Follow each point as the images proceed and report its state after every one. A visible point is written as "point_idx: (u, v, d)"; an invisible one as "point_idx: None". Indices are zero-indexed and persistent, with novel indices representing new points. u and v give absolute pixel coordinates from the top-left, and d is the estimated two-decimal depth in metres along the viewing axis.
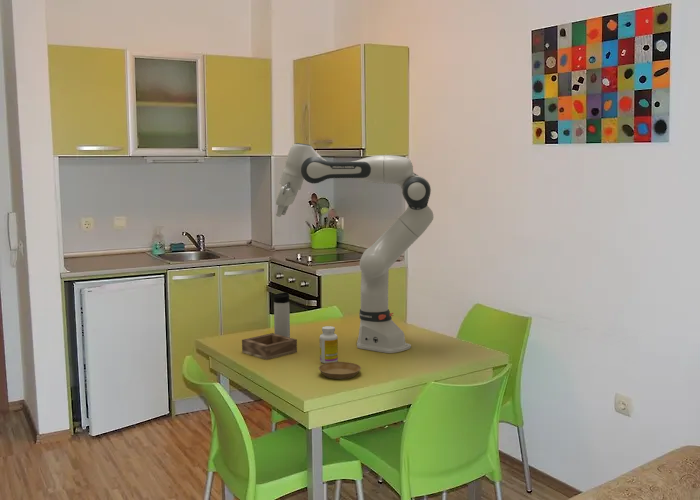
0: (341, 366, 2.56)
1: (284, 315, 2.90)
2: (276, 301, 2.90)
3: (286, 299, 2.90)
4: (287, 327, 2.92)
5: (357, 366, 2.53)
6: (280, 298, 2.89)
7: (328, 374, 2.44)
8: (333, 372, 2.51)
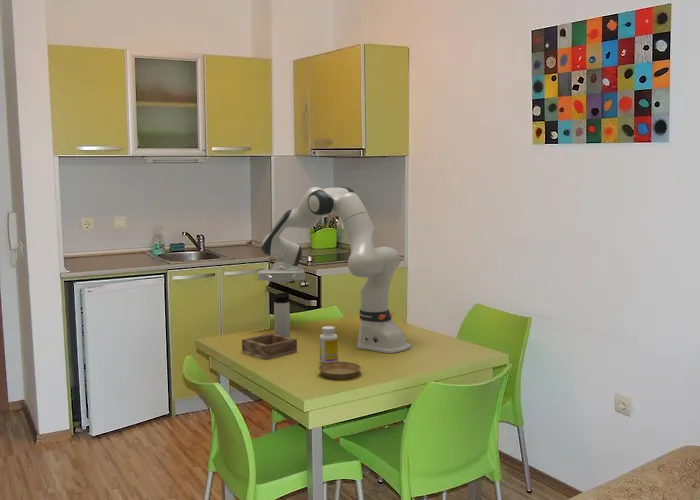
0: (341, 366, 2.56)
1: (284, 315, 2.90)
2: (276, 301, 2.90)
3: (286, 299, 2.90)
4: (287, 327, 2.92)
5: (357, 366, 2.53)
6: (280, 298, 2.89)
7: (328, 374, 2.44)
8: (333, 372, 2.51)
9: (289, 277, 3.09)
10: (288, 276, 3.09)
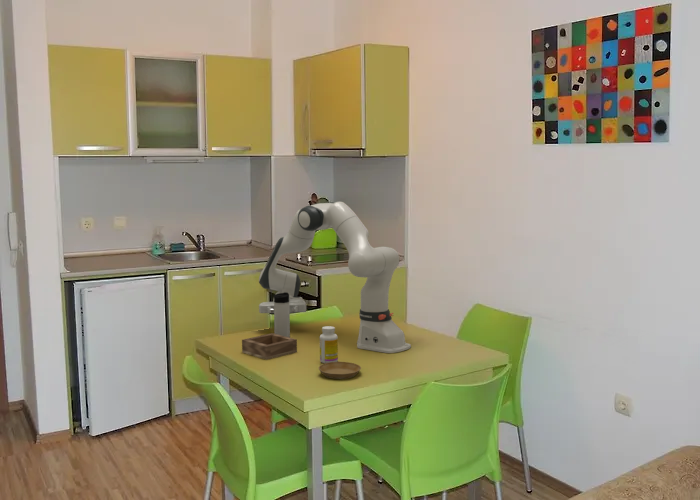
0: (341, 366, 2.56)
1: (284, 315, 2.90)
2: (276, 301, 2.90)
3: (286, 299, 2.90)
4: (287, 327, 2.92)
5: (357, 366, 2.53)
6: (280, 298, 2.89)
7: (328, 374, 2.44)
8: (333, 372, 2.51)
9: (290, 309, 3.08)
10: (289, 308, 3.08)
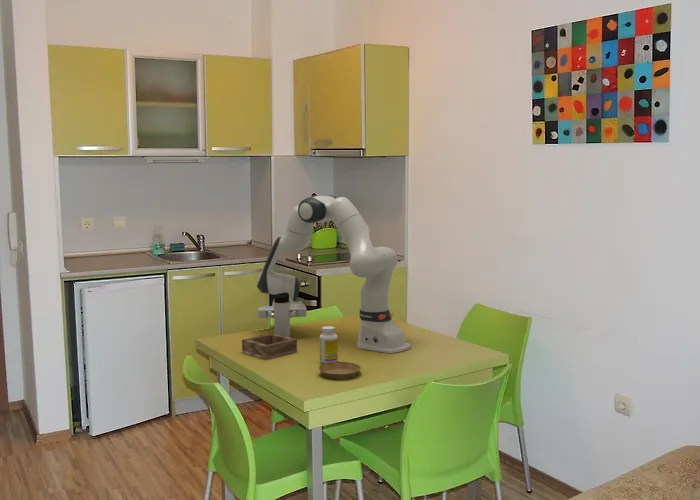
0: (341, 366, 2.56)
1: (284, 315, 2.90)
2: (276, 301, 2.90)
3: (286, 299, 2.90)
4: (287, 327, 2.92)
5: (357, 366, 2.53)
6: (280, 298, 2.89)
7: (328, 374, 2.44)
8: (333, 372, 2.51)
9: None
10: None
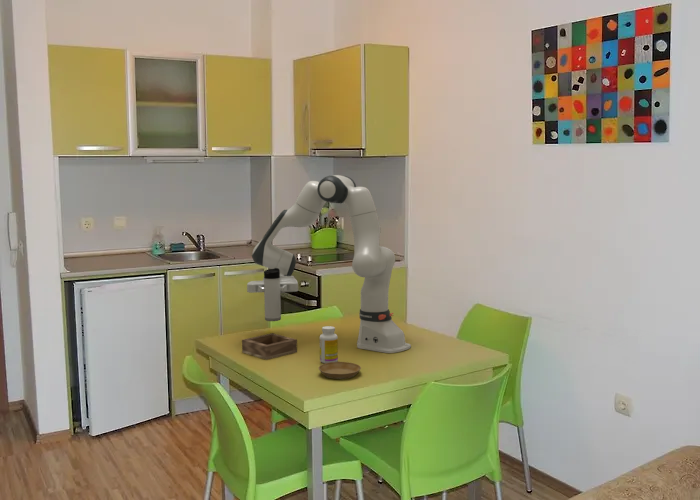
0: (341, 366, 2.56)
1: (274, 291, 2.77)
2: (266, 277, 2.77)
3: (276, 275, 2.77)
4: (278, 304, 2.79)
5: (357, 366, 2.53)
6: (270, 274, 2.76)
7: (328, 374, 2.44)
8: (333, 372, 2.51)
9: None
10: None
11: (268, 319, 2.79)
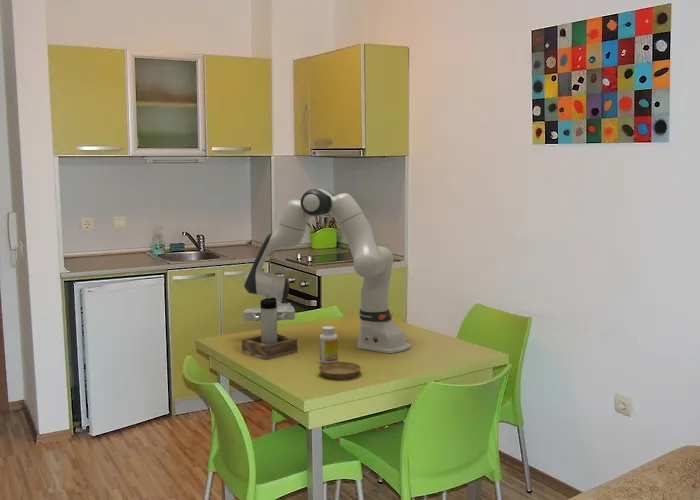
0: (341, 366, 2.56)
1: (271, 321, 2.74)
2: (262, 307, 2.74)
3: (273, 305, 2.74)
4: (274, 334, 2.75)
5: (357, 366, 2.53)
6: (267, 304, 2.73)
7: (328, 374, 2.44)
8: (333, 372, 2.51)
9: (277, 317, 2.82)
10: None
11: None
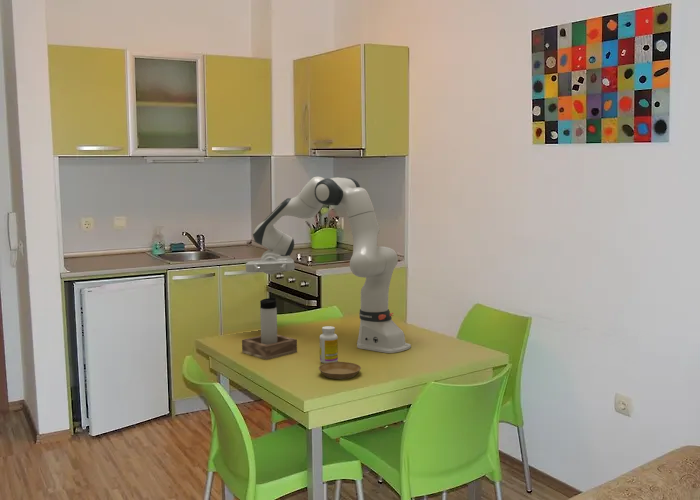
0: (341, 366, 2.56)
1: (271, 321, 2.74)
2: (262, 307, 2.74)
3: (273, 305, 2.74)
4: (274, 334, 2.75)
5: (357, 366, 2.53)
6: (266, 304, 2.73)
7: (328, 374, 2.44)
8: (333, 372, 2.51)
9: (278, 268, 2.98)
10: (277, 266, 2.98)
11: None
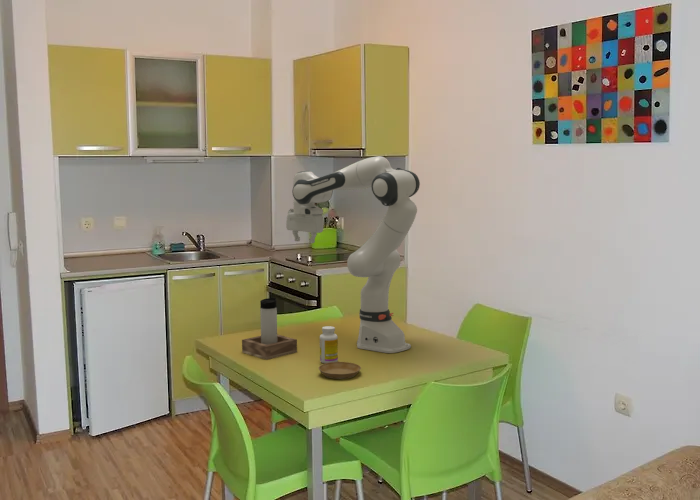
0: (341, 366, 2.56)
1: (271, 321, 2.74)
2: (262, 307, 2.74)
3: (273, 305, 2.74)
4: (274, 334, 2.75)
5: (357, 366, 2.53)
6: (266, 304, 2.73)
7: (328, 374, 2.44)
8: (333, 372, 2.51)
9: None
10: None
11: None
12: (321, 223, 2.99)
